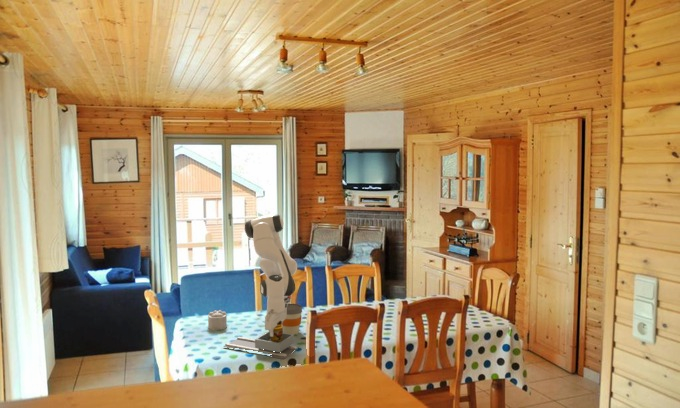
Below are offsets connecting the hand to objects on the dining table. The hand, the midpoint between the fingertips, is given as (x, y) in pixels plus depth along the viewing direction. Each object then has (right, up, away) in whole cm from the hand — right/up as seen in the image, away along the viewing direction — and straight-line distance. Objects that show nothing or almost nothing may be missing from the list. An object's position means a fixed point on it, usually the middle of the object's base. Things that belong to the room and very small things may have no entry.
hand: (275, 333), depth 290 cm
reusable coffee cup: (+5, -7, +30) cm, 31 cm away
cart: (-1, -8, +1) cm, 8 cm away
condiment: (0, -6, +1) cm, 6 cm away
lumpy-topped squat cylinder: (-39, -5, +40) cm, 56 cm away
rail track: (-8, -9, +5) cm, 13 cm away
